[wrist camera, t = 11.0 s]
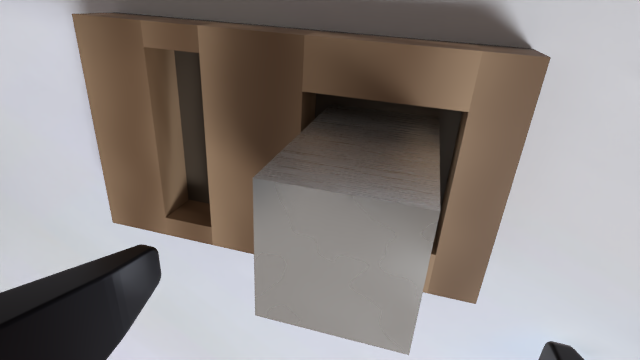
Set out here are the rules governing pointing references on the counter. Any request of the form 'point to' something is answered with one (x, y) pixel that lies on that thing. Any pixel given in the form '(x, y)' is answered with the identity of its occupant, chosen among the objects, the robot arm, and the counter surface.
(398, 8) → the counter surface
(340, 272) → the square bit
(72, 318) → the robot arm
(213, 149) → the socket block
